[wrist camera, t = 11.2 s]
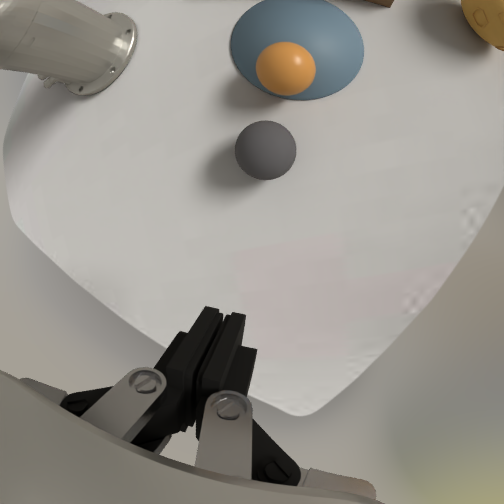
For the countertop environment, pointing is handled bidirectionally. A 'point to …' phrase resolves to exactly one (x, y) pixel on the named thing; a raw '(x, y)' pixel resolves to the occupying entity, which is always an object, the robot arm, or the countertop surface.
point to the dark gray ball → (265, 150)
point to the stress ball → (486, 19)
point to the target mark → (301, 42)
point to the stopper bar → (382, 2)
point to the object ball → (285, 68)
